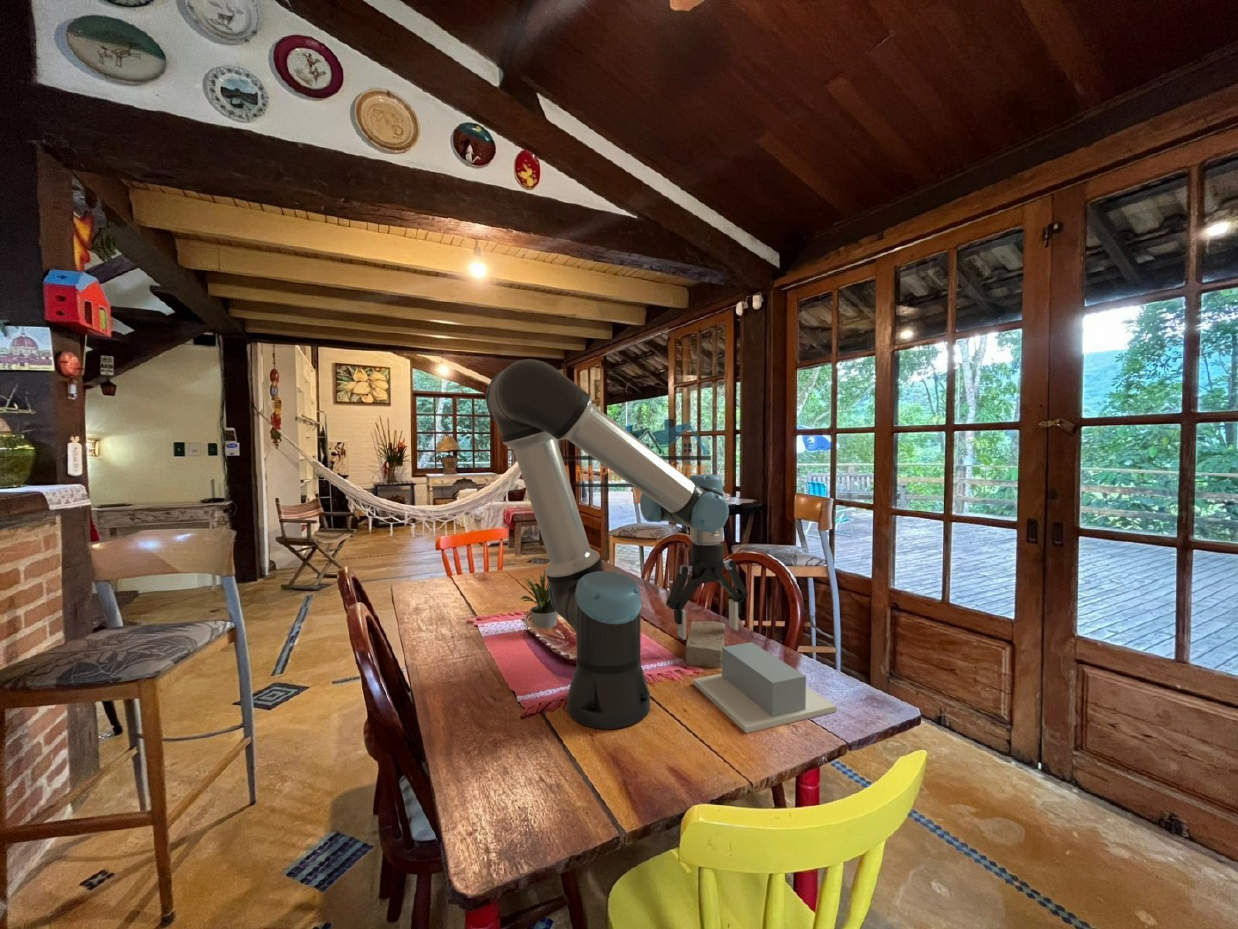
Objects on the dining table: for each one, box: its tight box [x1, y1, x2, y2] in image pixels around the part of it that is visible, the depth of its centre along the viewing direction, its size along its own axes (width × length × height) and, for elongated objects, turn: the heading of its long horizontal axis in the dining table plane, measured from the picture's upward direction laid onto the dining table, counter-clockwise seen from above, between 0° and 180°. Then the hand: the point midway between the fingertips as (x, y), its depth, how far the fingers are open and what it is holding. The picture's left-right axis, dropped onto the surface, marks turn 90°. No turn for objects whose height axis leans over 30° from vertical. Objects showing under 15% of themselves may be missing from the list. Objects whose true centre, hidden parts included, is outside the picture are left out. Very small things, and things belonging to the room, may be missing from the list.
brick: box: [685, 620, 726, 669], centre depth 115 cm, size 16×8×5 cm, turn 167°
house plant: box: [517, 568, 559, 629], centre depth 124 cm, size 14×14×16 cm
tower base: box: [692, 641, 838, 734], centre depth 94 cm, size 19×18×7 cm
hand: (708, 632), depth 115 cm, fingers open, 13 cm apart
